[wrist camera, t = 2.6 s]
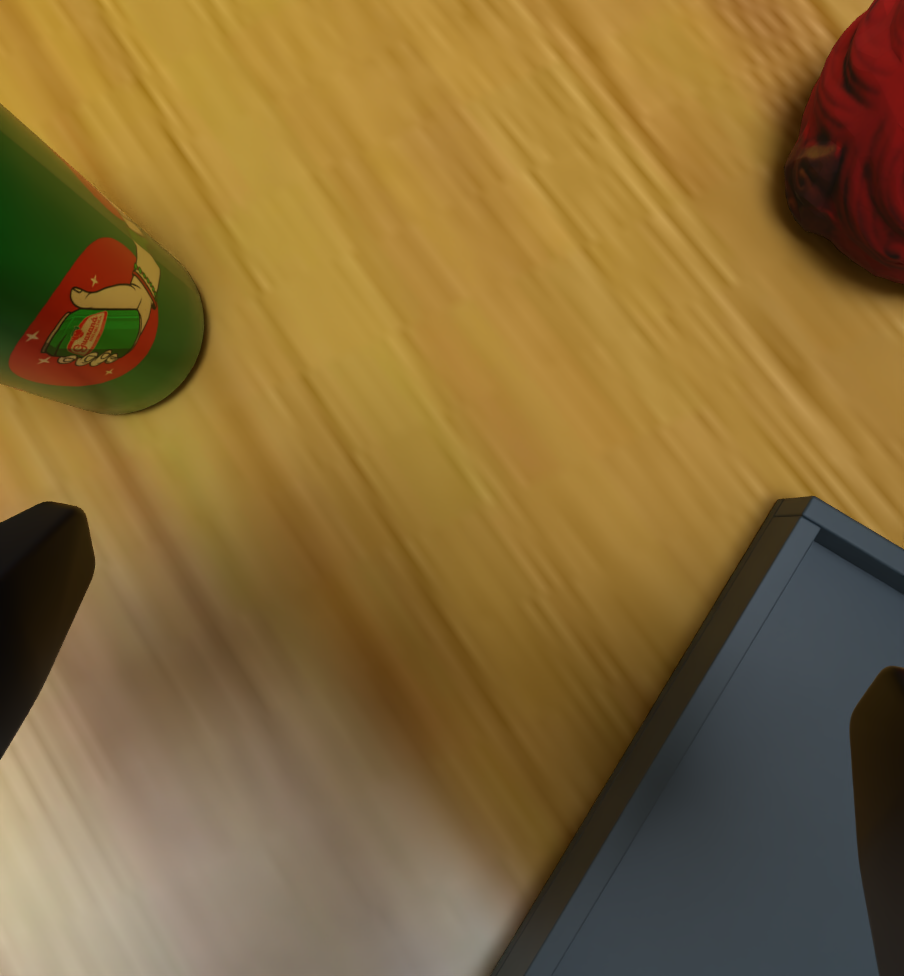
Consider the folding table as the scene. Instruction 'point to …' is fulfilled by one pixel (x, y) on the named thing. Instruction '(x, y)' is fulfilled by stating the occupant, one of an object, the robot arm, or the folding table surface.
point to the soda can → (85, 289)
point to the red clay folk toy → (856, 145)
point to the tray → (739, 781)
